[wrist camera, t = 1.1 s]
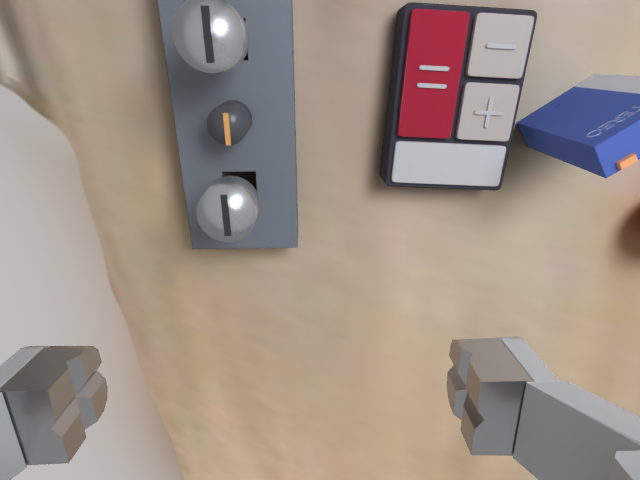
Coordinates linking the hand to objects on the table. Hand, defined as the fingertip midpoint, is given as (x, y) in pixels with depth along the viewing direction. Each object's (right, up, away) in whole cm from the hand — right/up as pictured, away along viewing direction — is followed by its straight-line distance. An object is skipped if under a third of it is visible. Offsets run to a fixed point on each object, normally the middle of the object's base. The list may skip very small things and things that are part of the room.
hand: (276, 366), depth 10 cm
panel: (-6, +15, +29) cm, 33 cm away
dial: (-6, +13, +25) cm, 29 cm away
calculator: (+13, +16, +29) cm, 36 cm away
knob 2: (-6, +8, +27) cm, 29 cm away
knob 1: (-6, +19, +22) cm, 30 cm away
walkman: (+24, +15, +30) cm, 41 cm away
